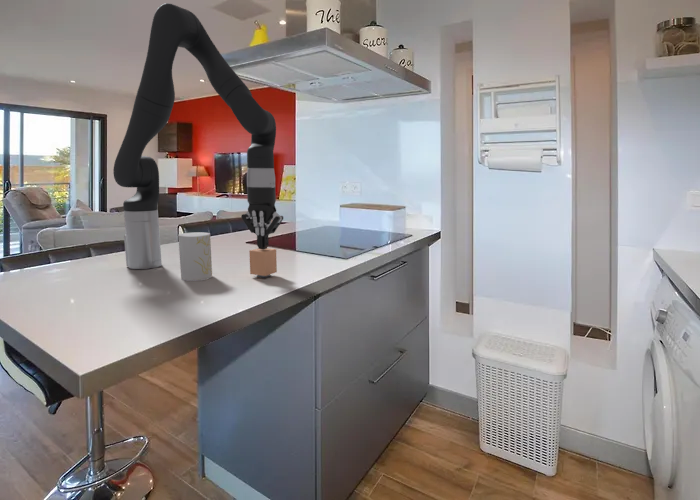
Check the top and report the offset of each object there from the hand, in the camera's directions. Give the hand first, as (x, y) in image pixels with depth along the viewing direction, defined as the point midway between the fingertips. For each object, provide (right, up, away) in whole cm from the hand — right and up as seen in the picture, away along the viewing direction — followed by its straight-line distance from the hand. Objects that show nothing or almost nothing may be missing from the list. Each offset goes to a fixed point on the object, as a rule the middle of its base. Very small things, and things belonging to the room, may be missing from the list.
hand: (263, 248), depth 117 cm
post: (0, -8, +1) cm, 8 cm away
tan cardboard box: (0, -7, +1) cm, 7 cm away
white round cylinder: (-18, -8, 0) cm, 20 cm away
